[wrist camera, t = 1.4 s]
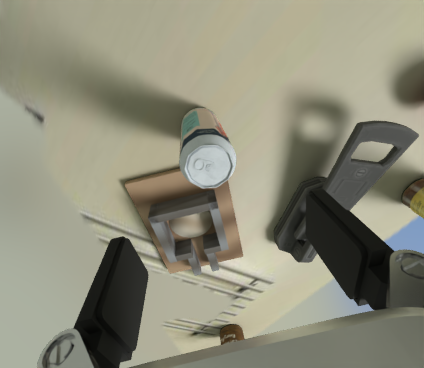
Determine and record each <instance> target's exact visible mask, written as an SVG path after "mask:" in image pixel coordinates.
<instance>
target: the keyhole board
mask: <svg viewBox="0 0 424 368" xmlns="http://www.w3.org/2000/svg"><path fill="white" fill-rule="evenodd" d="M124 185H125V187H126V189H127V191H128V193H129V195H130V197H131V199H132V201H133V203H134V205H135V207H136V208H137V210H138V212H139V214H140V216H141V218H142V220H143V222H144V224H145V226H146V228H147V230H148V232H149V234H150V236H151V238H152V240H153V242H154V244H155V245H156V247H157V249H158V251H159V253H160V255H161V257H162V259H163V261H164V263H165V265H166V267H167V269H168V271H169V273H170V274H171V273H175V272H179V271H183V270H188V269H192V270H193V273H194V275H199V274H201V266H205V265H209V264H210V266H211V269H212V271H216V270H219V267H218V262H222V261H226V260H230V259H234V258H239V257H243V252H242V248H241V243H240V238H239V233H238V228H237V223H236V218H235V213H234V208H233V204H232V199H231V194H230V189H229V184H228V180H227V181H226V182H224V183H223V184H221V185H220V186H218V187H216V188H201V187H199V186H197V185H194V184H192V183H191V182H189V181H188V180H187V179H186V178H185V177H184V176H183V174H182V172H181V169H180V168H178V169H174V170H170V171H166V172H162V173H158V174H153V175H149V176H145V177H141V178H137V179H133V180H129V181H126V182H125V184H124Z"/></svg>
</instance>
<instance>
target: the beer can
mask: <svg viewBox="0 0 424 368" xmlns="http://www.w3.org/2000/svg"><path fill="white" fill-rule="evenodd" d="M179 165H180V169H181V172H182V174H183V176H184V177H185V178H186V179H187V180H188V181H189V182H191V183H192V184H194V185H197V186H199V187H201V188H216V187H218V186H220V185H221V184H223V183H224V182H226V181H227V180H228V179H229V178H230V176H231V175H232V173H233V171H234V169H235V166H236V154H235V151H234V148H233V147H232V145H231V143H230V141H229V139H228V137H227V136H226V134H225V132H224V130H223V128H222V126H221V124H220V122H219V121H218V119H217V117H216V115H215V114H214V113H213V112H212V111H210V110H208V109H206V108H195V109H192V110H190V111H189V112H188V113H187V114H186V115H185V116H184V118H183V120H182V125H181V142H180V159H179Z"/></svg>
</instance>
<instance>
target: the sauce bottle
mask: <svg viewBox="0 0 424 368" xmlns="http://www.w3.org/2000/svg"><path fill="white" fill-rule="evenodd" d="M402 202H403V203H404V204H405V205H406V206H408V207H409V208H411V209H412V211H414V212H415V213H416V214H418V215H419V216H421V217H422V218H424V179H420V180H417V181H415V182H414V183H413V184H411V185H410V186H409V187H408V188H407V189H406V190H405V191H404V193H403V196H402Z"/></svg>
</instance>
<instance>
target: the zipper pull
mask: <svg viewBox="0 0 424 368" xmlns="http://www.w3.org/2000/svg"><path fill="white" fill-rule="evenodd" d="M418 137H419V134H418V133H416V132H415V131H413V130H412V129H410V128H408V127H406V126H404V125H401V124H397V123H393V122H387V121H368V122H360V123H358V124H357V125H356V126H355V128H354V130H353V132H352V134H351V135H350V137H349V139H348V141H347V143H346V144H345V146H344V148H343V150H342V152H341V154H340V155H339V157H338V159H337V161H336V163H335V165H334V167H333V168H332V170H331V172H330V174H329V176H328V178H320V177H316V178H313V179H310V180H308V181H305V182H302V183H301V184H300V185H299V187H298V188H297V190H296V192H295V194H294V196H293V197H292V199H291V201H290V203H289V205H288V206H287V208H286V210H285V212H284V214H283V215H282V217H281V219H280V221H279V222H278V224H277V226H276V228H275V229H274V237H275V242H276V244H277V246H278V248H279V250H282V251H285V252H288V253H290V254H291V255H292V256H293V257H294V259H295V260H296V261H297V262H312V261H313V259H314V257H315V256H316V254H317V252H316V250H315V249H314V248H313V246H312V245H311V243H310V242H309V240H308V239H307V237H306V232H305V230H306V195H307V194H309V192H310V191H311V190H315V189H320V188H322V189H324V190H325V191H326V192H327V193H328V194H329V195H330V196H332V197H333V198H334V199H335V200H336V201H337V202H338V203H339V204H340V205H341V206H343V207H344V208H345V209H346V210H349V211H350V210H351V209H352V208H353V206H354V205H355V204H356V203H357V202H358V201H359V200H360V199H361V198H362V197H363V196H364V195H365V194H366V192H367V191H368V190H369V189H370V188H371V187H372V186H373V185H374V184H375V183H376V182H377V181H378V180H379V178H380V177H381V176H382V175H383V174H384V173H385V172H386V171H387V170H388V169H389V168H390V167H391V166H392V165H393V164H394V163H395V162H396V160H397V159H398V158H399V157H400V156H401V155H402V154H403V153H404V152H405V151H406V150H407V149H408V147H409V146H410V145H411V144H412V143H413V142H414V141H415V140H416V139H417V138H418ZM368 141H374V142H381V143H387V144H392V145H394V147H393V148H392V149H391V151H390V152H389V153H388V154H387V156H386V157H385V158H384V159H382V160H381V161H379V162H373V161H365V160H358V159H351V155H352V154H353V152H354V151H355V149H356V148H357V146H358V145H359V144H360V143H361V142H368Z"/></svg>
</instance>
